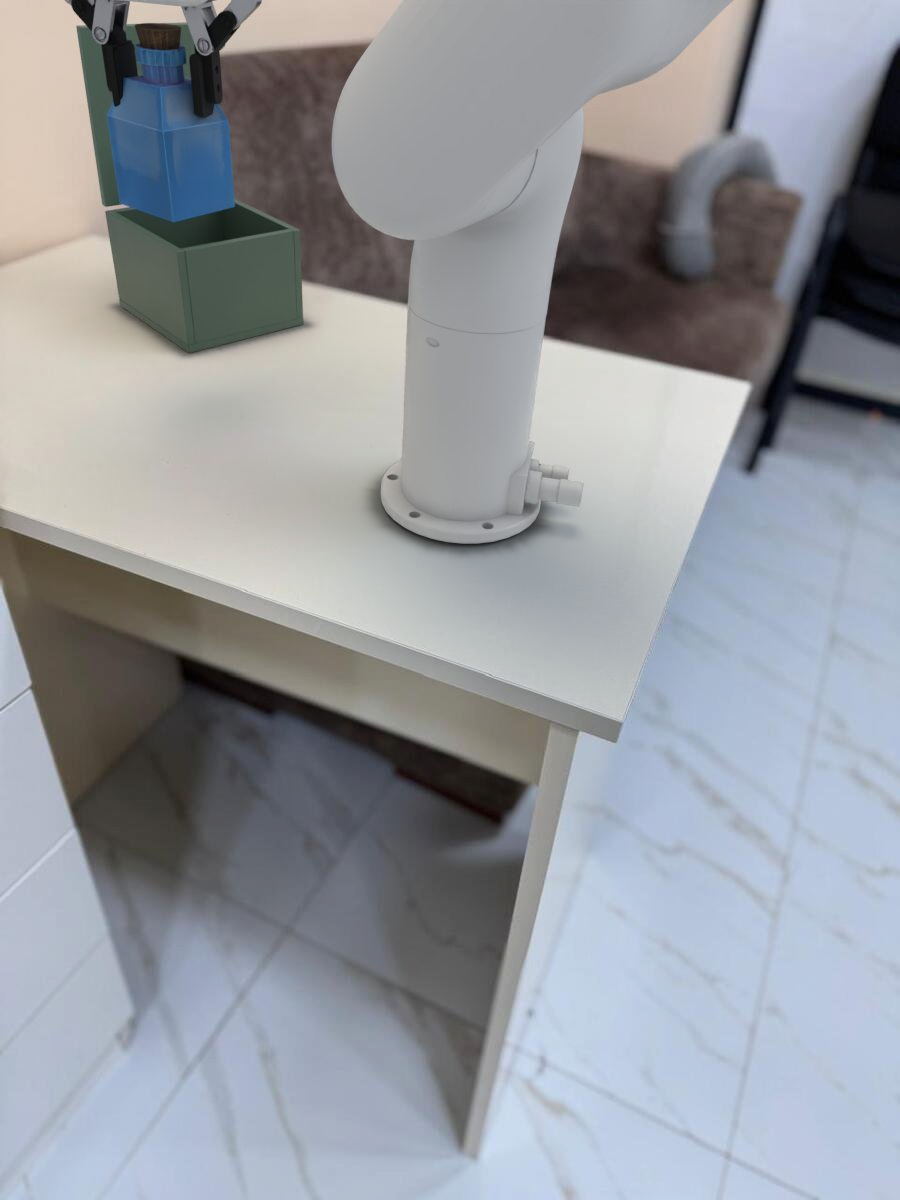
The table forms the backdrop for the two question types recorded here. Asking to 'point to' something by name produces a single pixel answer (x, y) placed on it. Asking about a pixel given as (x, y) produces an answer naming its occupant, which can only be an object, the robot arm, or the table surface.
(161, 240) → the chest
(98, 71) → the lid
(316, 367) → the table surface
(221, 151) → the perfume bottle
